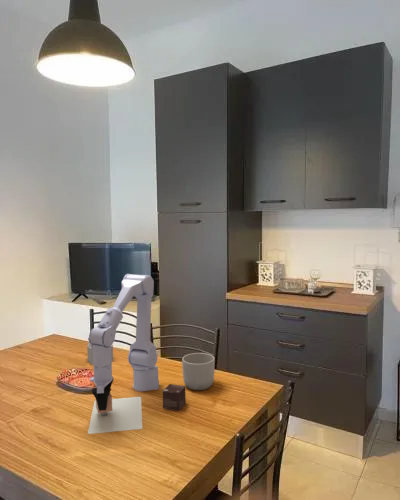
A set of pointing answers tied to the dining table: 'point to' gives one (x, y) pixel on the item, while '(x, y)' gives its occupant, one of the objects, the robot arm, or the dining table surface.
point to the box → (174, 397)
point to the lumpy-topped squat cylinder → (90, 353)
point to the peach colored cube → (109, 405)
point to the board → (117, 416)
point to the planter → (198, 370)
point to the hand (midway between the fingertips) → (103, 405)
